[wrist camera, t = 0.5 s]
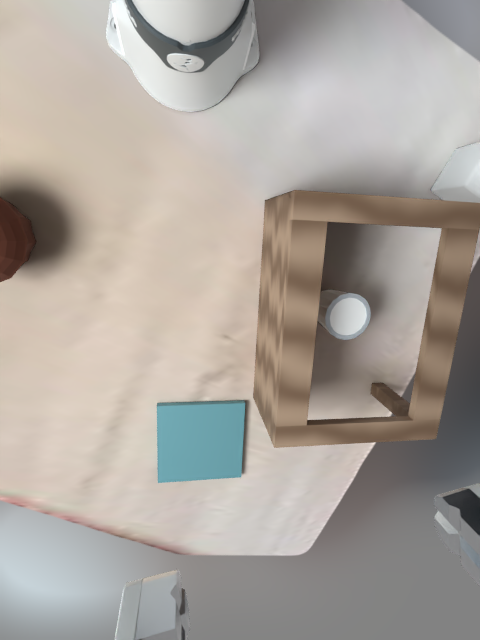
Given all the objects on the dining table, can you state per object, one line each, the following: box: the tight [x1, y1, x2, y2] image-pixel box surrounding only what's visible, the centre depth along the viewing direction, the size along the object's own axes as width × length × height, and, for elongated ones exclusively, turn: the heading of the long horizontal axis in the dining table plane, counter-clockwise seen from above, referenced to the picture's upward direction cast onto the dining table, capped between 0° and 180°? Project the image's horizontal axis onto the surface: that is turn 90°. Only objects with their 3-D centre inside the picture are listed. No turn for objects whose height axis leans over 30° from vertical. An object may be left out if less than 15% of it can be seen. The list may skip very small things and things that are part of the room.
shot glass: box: [318, 289, 371, 340], centre depth 53 cm, size 7×7×7 cm
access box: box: [253, 190, 480, 448], centre depth 49 cm, size 31×23×14 cm
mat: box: [157, 400, 245, 483], centre depth 58 cm, size 14×14×1 cm
